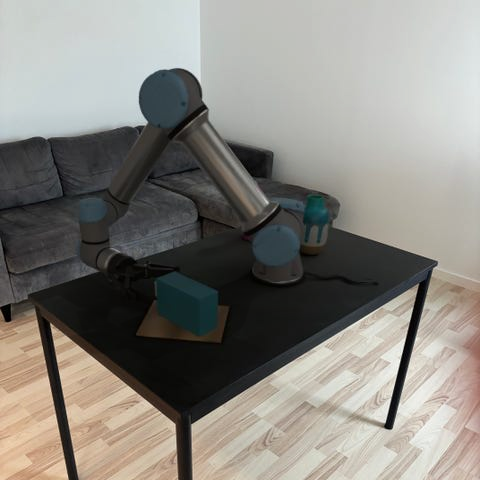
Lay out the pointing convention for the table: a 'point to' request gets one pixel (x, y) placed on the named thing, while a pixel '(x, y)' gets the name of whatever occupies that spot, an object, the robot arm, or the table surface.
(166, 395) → the table surface
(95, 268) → the robot arm
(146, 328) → the cork mat
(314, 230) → the vase
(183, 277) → the teal box
